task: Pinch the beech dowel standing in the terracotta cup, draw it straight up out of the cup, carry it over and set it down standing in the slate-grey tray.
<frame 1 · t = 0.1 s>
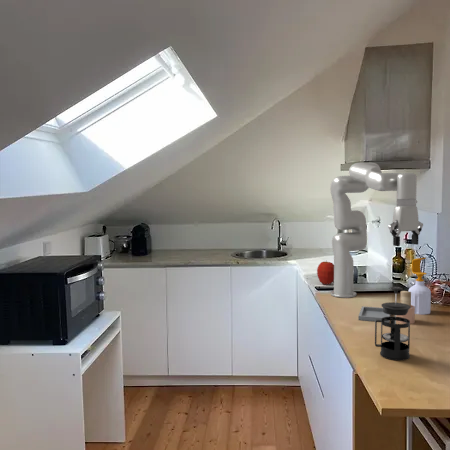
hand: (405, 245, 200), 31 cm above the worktop, tool pointing down, fingers open, 9 cm apart
dowel: (405, 321, 196), point 1 cm above the worktop, touching cup
tray: (374, 317, 204), on the worktop
apple: (326, 284, 271), on the worktop
cup: (405, 323, 197), on the worktop
soap bottle: (419, 313, 210), on the worktop
french press: (393, 355, 161), on the worktop
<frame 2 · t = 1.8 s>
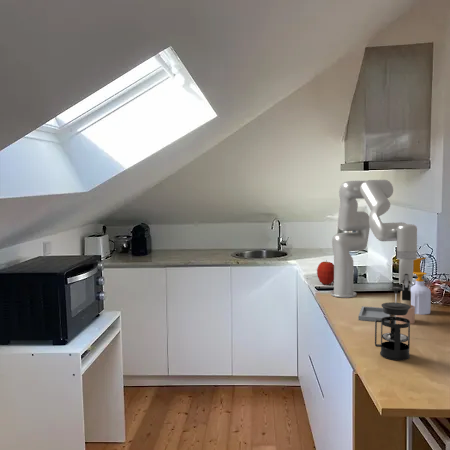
hand: (406, 297, 195), 11 cm above the worktop, tool pointing down, fingers open, 9 cm apart
nothing on the worktop moved.
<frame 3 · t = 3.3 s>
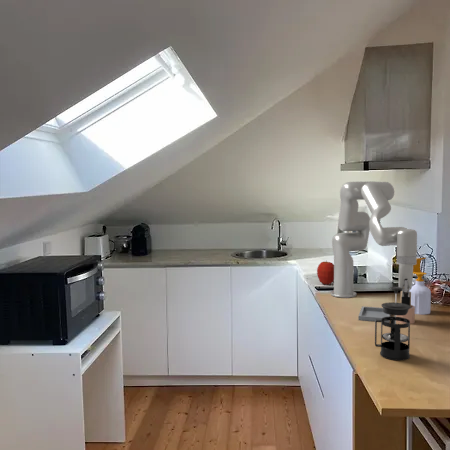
hand: (405, 304, 196), 8 cm above the worktop, tool pointing down, fingers closed on dowel, 4 cm apart
dowel: (405, 321, 196), point 1 cm above the worktop, touching cup, gripper
everything else where it was.
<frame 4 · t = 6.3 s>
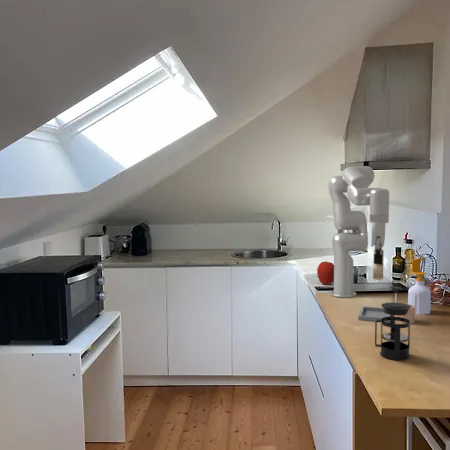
hand: (378, 262, 202), 24 cm above the worktop, tool pointing down, fingers closed on dowel, 4 cm apart
dowel: (378, 278, 202), point 17 cm above the worktop, touching gripper
everything else where it was.
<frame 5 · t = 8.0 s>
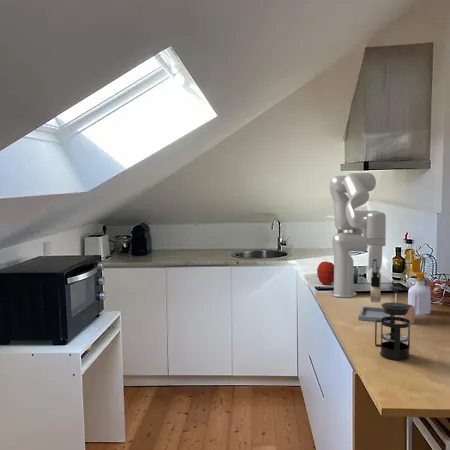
hand: (375, 285, 203), 14 cm above the worktop, tool pointing down, fingers closed on dowel, 4 cm apart
dowel: (375, 301, 203), point 7 cm above the worktop, touching gripper
everything else where it was.
when the fingers open (9 cm above the worktop, at t = 9.5 s): dowel drops 1 cm, resting on tray.
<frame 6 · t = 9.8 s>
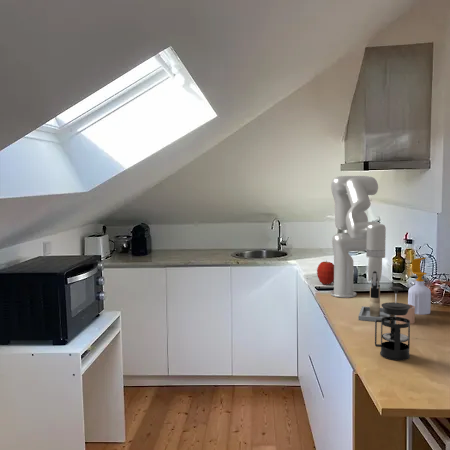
hand: (375, 295, 204), 10 cm above the worktop, tool pointing down, fingers open, 6 cm apart
dowel: (374, 315, 204), point 1 cm above the worktop, touching tray
everything else where it was.
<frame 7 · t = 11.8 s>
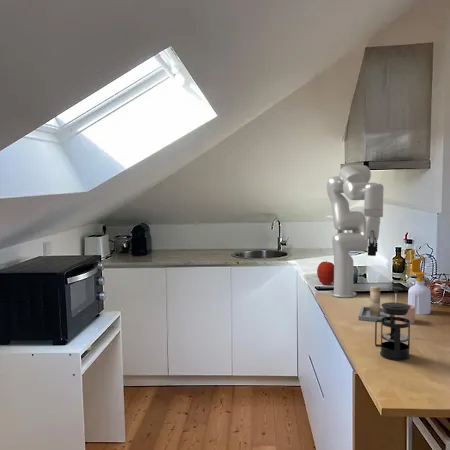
hand: (372, 253, 205), 27 cm above the worktop, tool pointing down, fingers open, 9 cm apart
nothing on the worktop moved.
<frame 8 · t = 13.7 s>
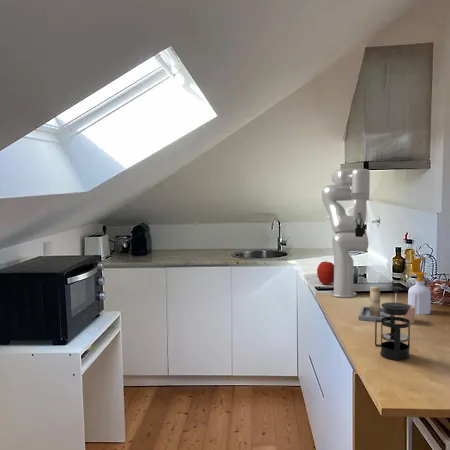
hand: (360, 235, 216), 33 cm above the worktop, tool pointing down, fingers open, 9 cm apart
nothing on the worktop moved.
at the end: dowel inside the target area on the tray (0.1 cm from its centre), point 1.0 cm above the tray's base; the gripper is holding nothing; dowel touching tray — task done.
